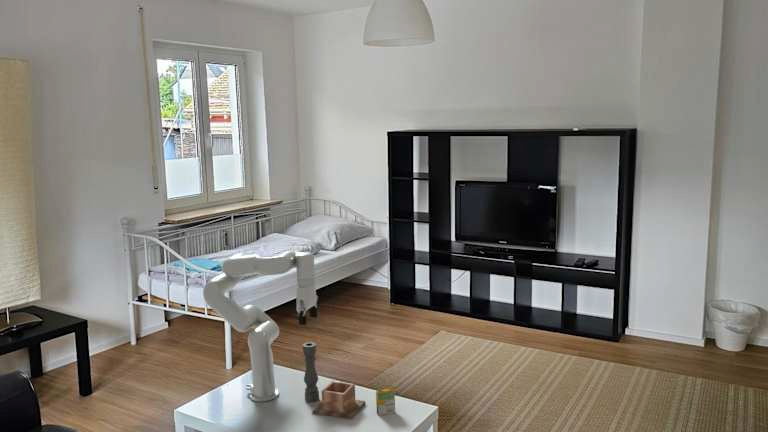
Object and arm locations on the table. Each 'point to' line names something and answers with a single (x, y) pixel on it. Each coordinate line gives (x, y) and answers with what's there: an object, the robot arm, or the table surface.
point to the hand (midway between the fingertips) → (308, 320)
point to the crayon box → (385, 401)
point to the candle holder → (310, 373)
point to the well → (339, 401)
